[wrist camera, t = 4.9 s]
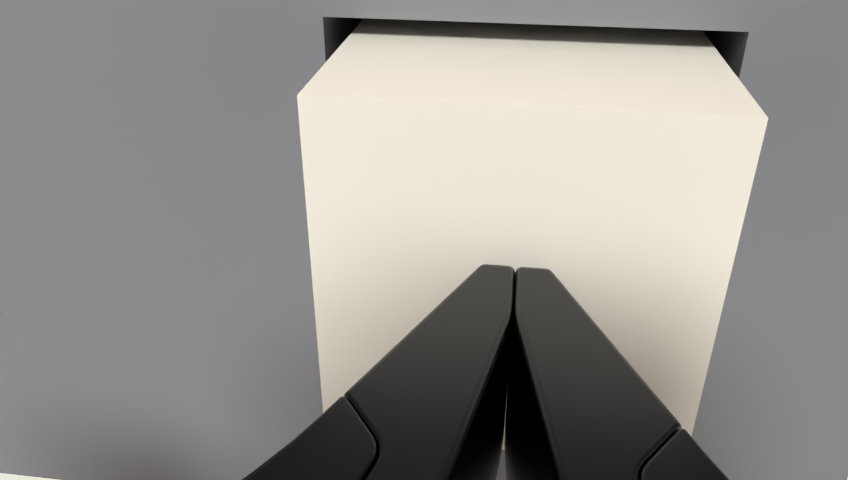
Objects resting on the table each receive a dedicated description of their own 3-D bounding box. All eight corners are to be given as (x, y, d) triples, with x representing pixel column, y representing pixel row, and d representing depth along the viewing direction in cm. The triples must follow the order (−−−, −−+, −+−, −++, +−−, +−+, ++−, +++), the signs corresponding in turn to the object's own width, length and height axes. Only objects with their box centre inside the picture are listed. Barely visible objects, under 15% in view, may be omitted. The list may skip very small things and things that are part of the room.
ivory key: (698, 24, 11) (768, 118, 8) (647, 302, 14) (683, 468, 10) (368, 13, 12) (296, 95, 8) (376, 282, 14) (325, 432, 11)
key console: (918, -308, 12) (1191, -398, 7) (739, 362, 19) (813, 564, 14) (-353, -291, 15) (-819, -346, 10) (-111, 291, 22) (-312, 437, 17)
